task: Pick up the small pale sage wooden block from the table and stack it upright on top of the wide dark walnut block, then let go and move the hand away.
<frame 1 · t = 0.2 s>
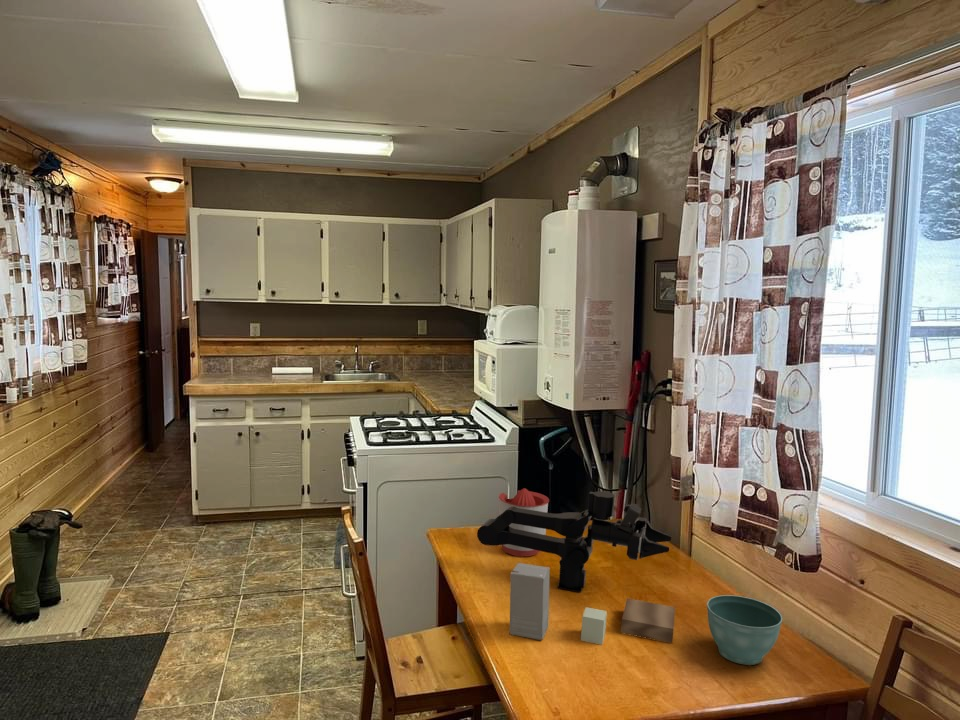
hand: (670, 543, 180), 17 cm above the table, tool horizontal, fingers open, 9 cm apart
skincare box: (527, 633, 163), on the table
citrus juicer: (518, 550, 215), on the table
walnut block: (647, 628, 169), on the table
sage block: (592, 637, 162), on the table
flower pot: (739, 655, 158), on the table
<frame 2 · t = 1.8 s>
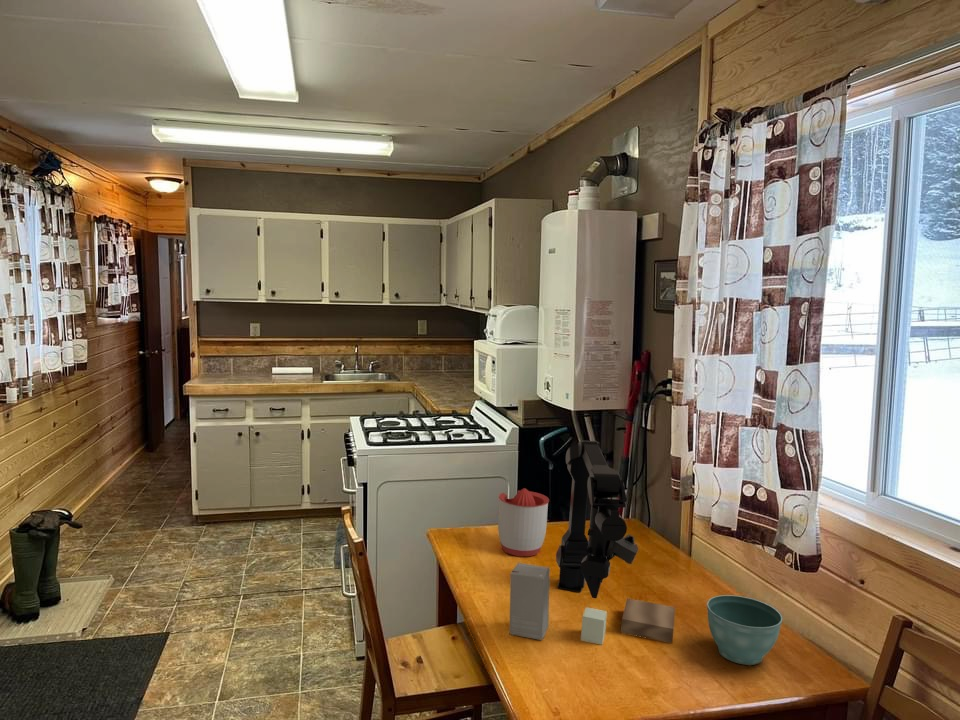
hand: (597, 589, 161), 12 cm above the table, tool pointing down, fingers open, 9 cm apart
nothing on the table moved.
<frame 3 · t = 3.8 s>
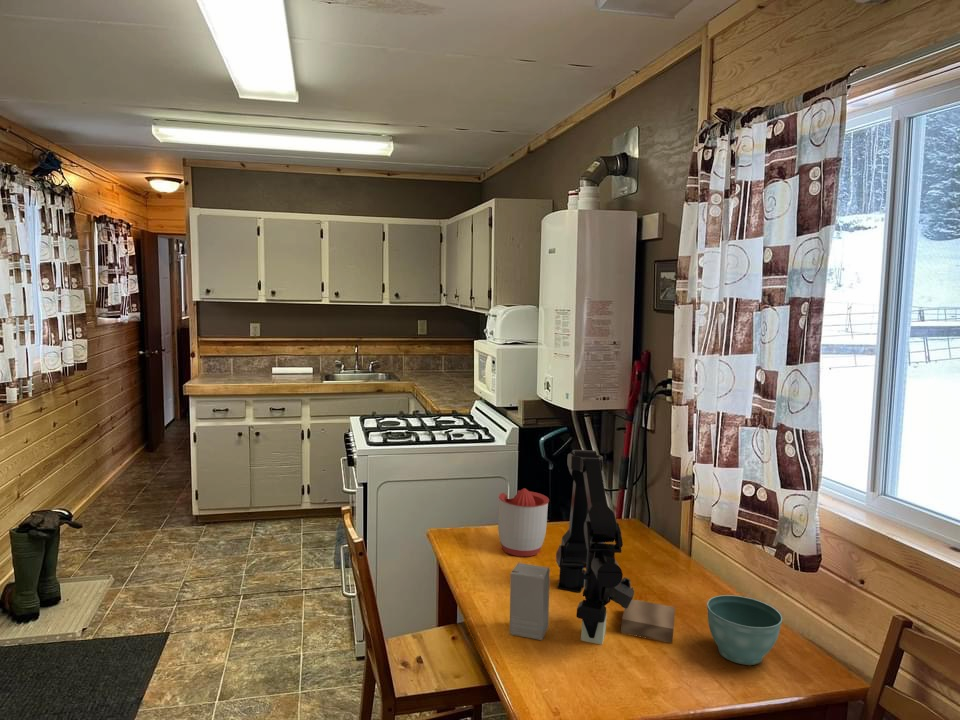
hand: (593, 632, 162), 1 cm above the table, tool pointing down, fingers closed on sage block, 5 cm apart
sage block: (593, 637, 162), on the table, touching gripper
everything else where it was.
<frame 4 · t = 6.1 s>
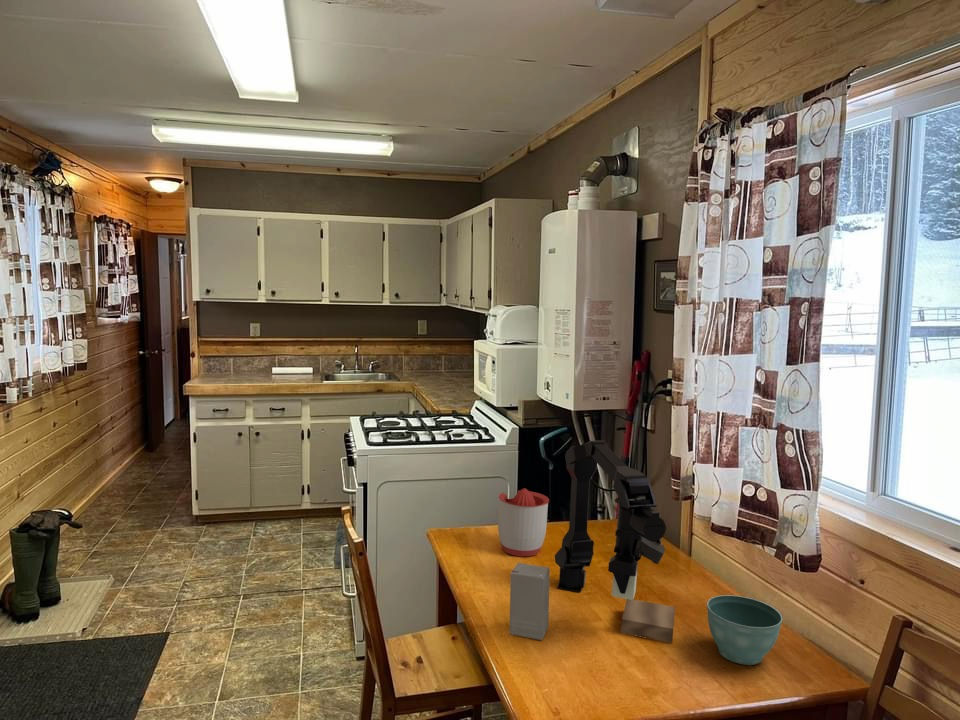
hand: (624, 588, 165), 11 cm above the table, tool pointing down, fingers closed on sage block, 5 cm apart
sage block: (623, 593, 165), point 10 cm above the table, touching gripper
everything else where it was.
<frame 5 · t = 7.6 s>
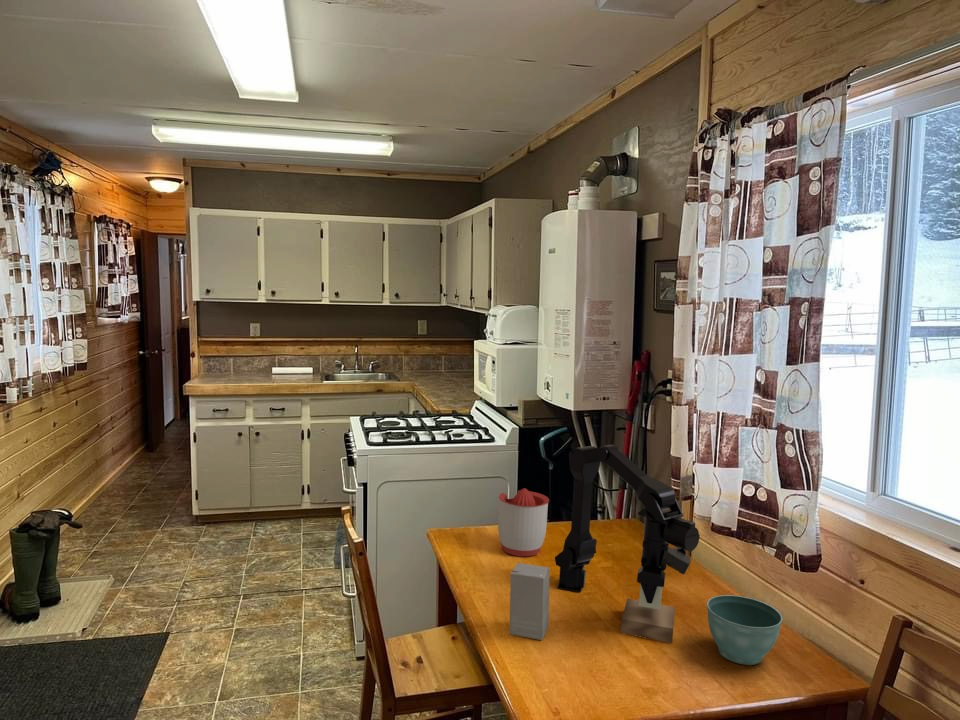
hand: (650, 598, 169), 7 cm above the table, tool pointing down, fingers closed on sage block, 5 cm apart
sage block: (649, 603, 169), point 6 cm above the table, touching gripper
everything else where it was.
when the fingers open (6 cm above the table, at t = 8.6 s): sage block drops 1 cm, point 4 cm above the table.
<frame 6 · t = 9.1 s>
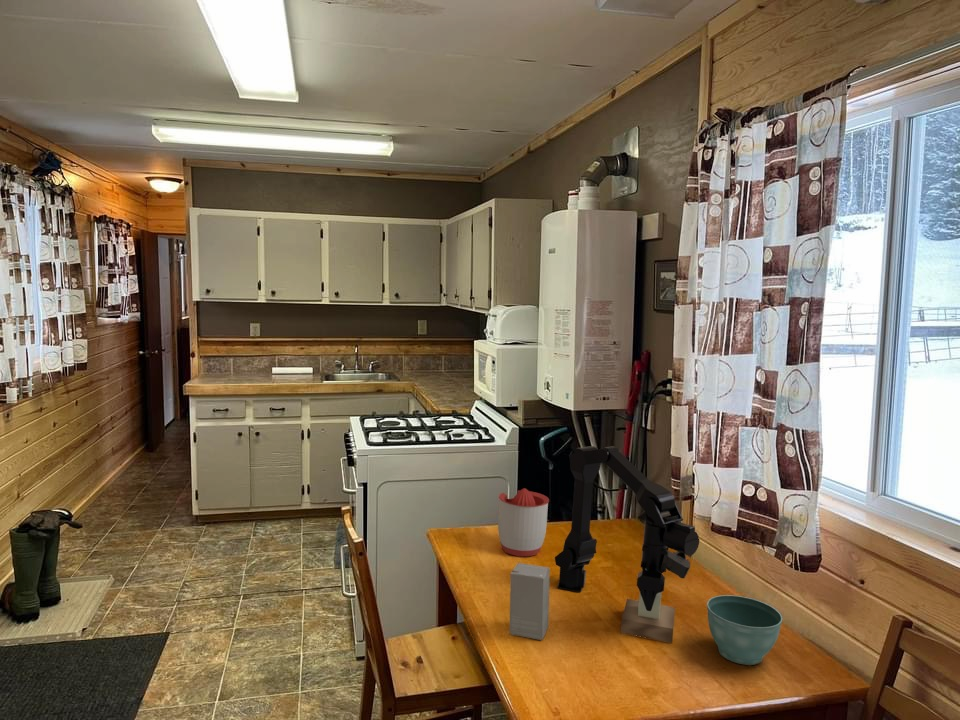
hand: (650, 602, 169), 6 cm above the table, tool pointing down, fingers open, 9 cm apart
sage block: (648, 612, 169), point 4 cm above the table
everything else where it was.
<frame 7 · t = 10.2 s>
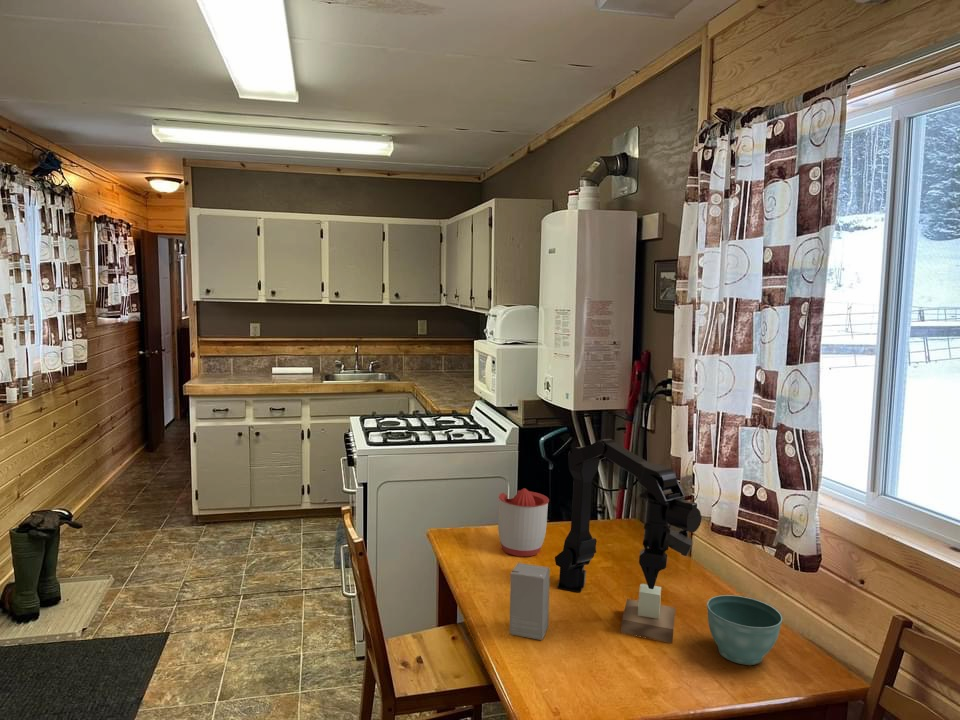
hand: (652, 581, 168), 12 cm above the table, tool pointing down, fingers open, 9 cm apart
nothing on the table moved.
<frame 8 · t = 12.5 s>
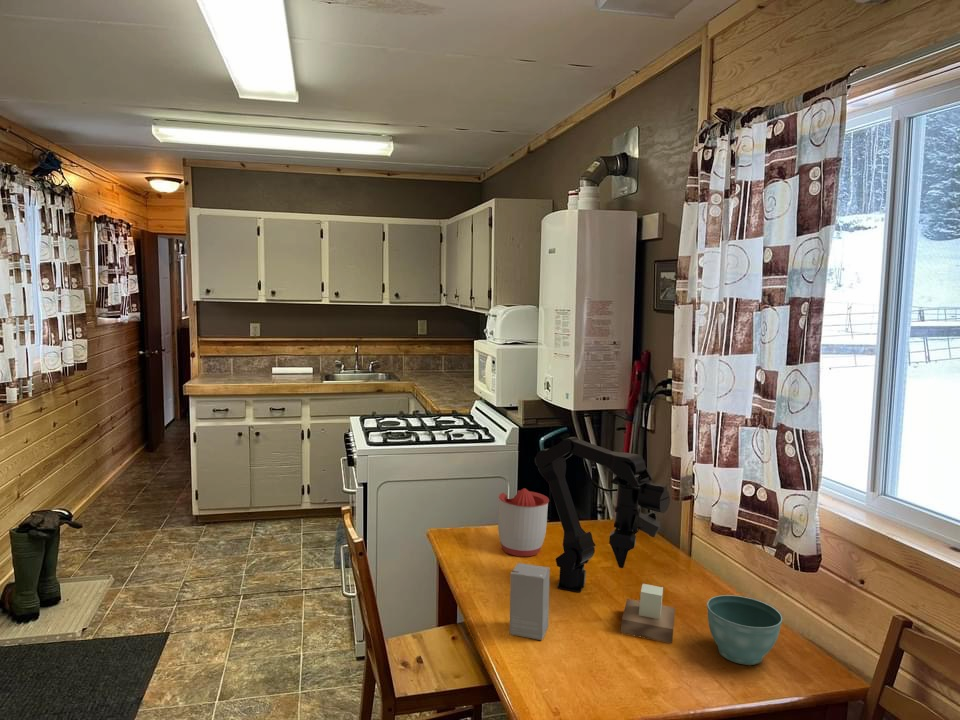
hand: (623, 561, 179), 12 cm above the table, tool pointing down, fingers open, 9 cm apart
nothing on the table moved.
at the end: sage block inside the target area on the walnut block (0.4 cm from its centre), point 4.0 cm above the walnut block's base; sage block tilted 0°; sage block touching nothing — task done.
